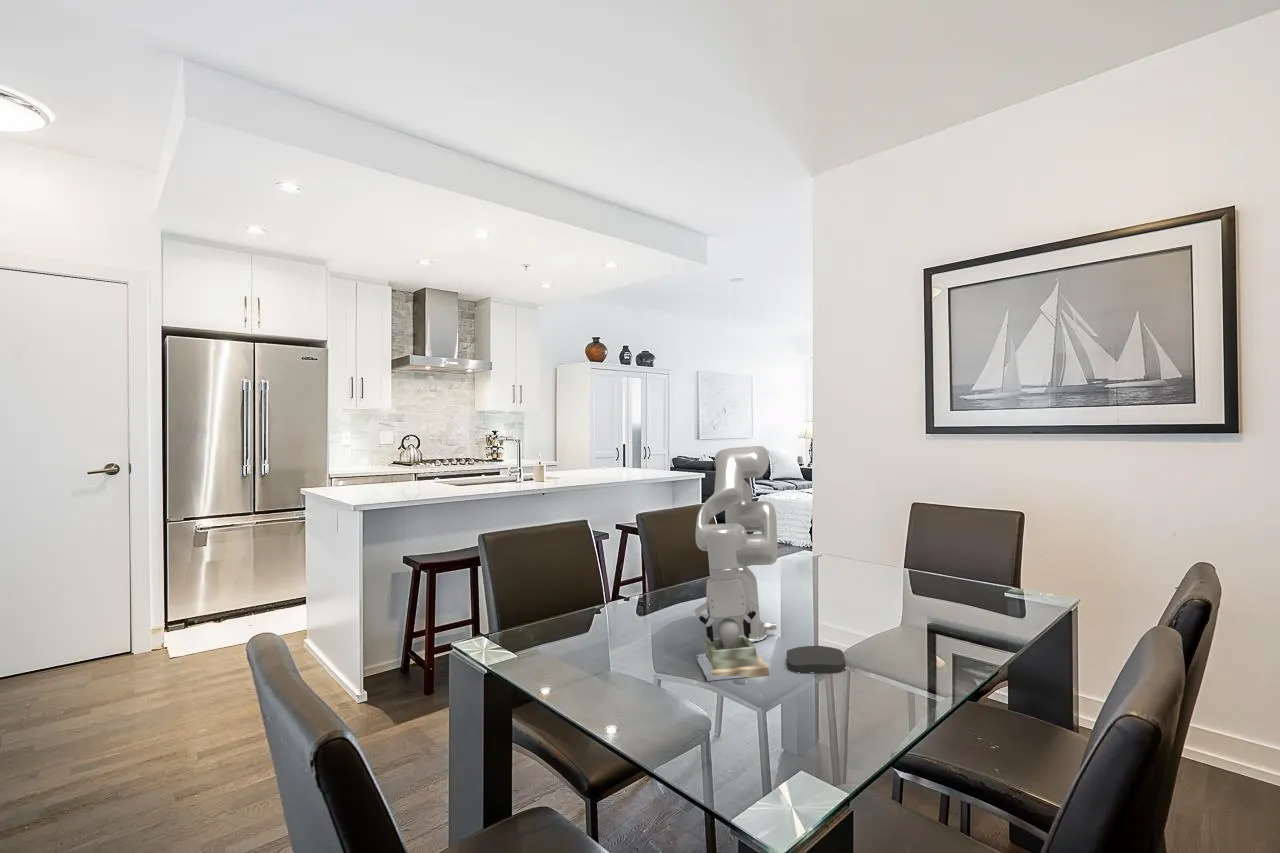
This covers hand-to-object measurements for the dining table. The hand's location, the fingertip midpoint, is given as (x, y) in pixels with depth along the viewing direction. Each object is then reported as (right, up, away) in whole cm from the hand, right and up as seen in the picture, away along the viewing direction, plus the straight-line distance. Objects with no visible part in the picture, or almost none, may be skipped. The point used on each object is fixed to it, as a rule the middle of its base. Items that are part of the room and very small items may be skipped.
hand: (729, 638), depth 166 cm
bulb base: (+1, -8, 0) cm, 8 cm away
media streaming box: (+23, -7, -2) cm, 24 cm away
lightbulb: (0, -6, 0) cm, 6 cm away
